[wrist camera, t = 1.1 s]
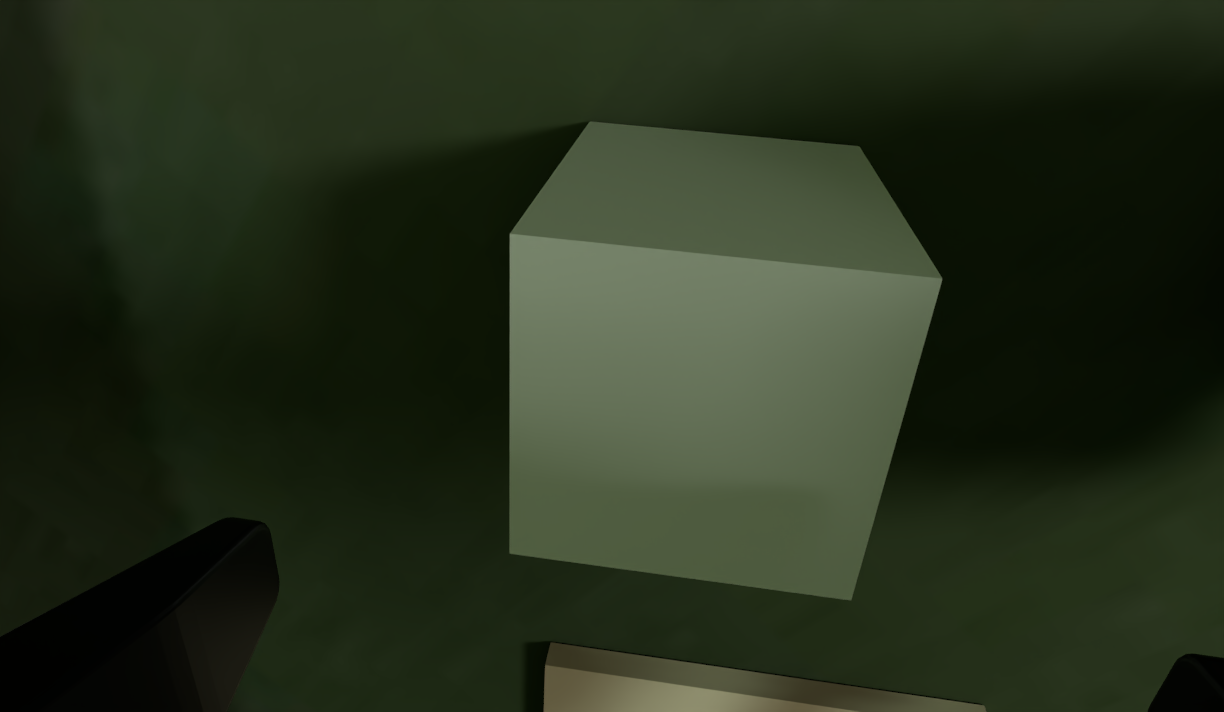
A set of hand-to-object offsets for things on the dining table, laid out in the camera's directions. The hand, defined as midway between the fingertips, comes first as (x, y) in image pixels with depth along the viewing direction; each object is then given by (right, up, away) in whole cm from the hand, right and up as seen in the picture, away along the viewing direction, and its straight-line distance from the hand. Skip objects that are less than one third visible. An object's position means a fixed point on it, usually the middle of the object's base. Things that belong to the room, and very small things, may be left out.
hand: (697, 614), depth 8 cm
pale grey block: (+1, +5, +9) cm, 10 cm away
